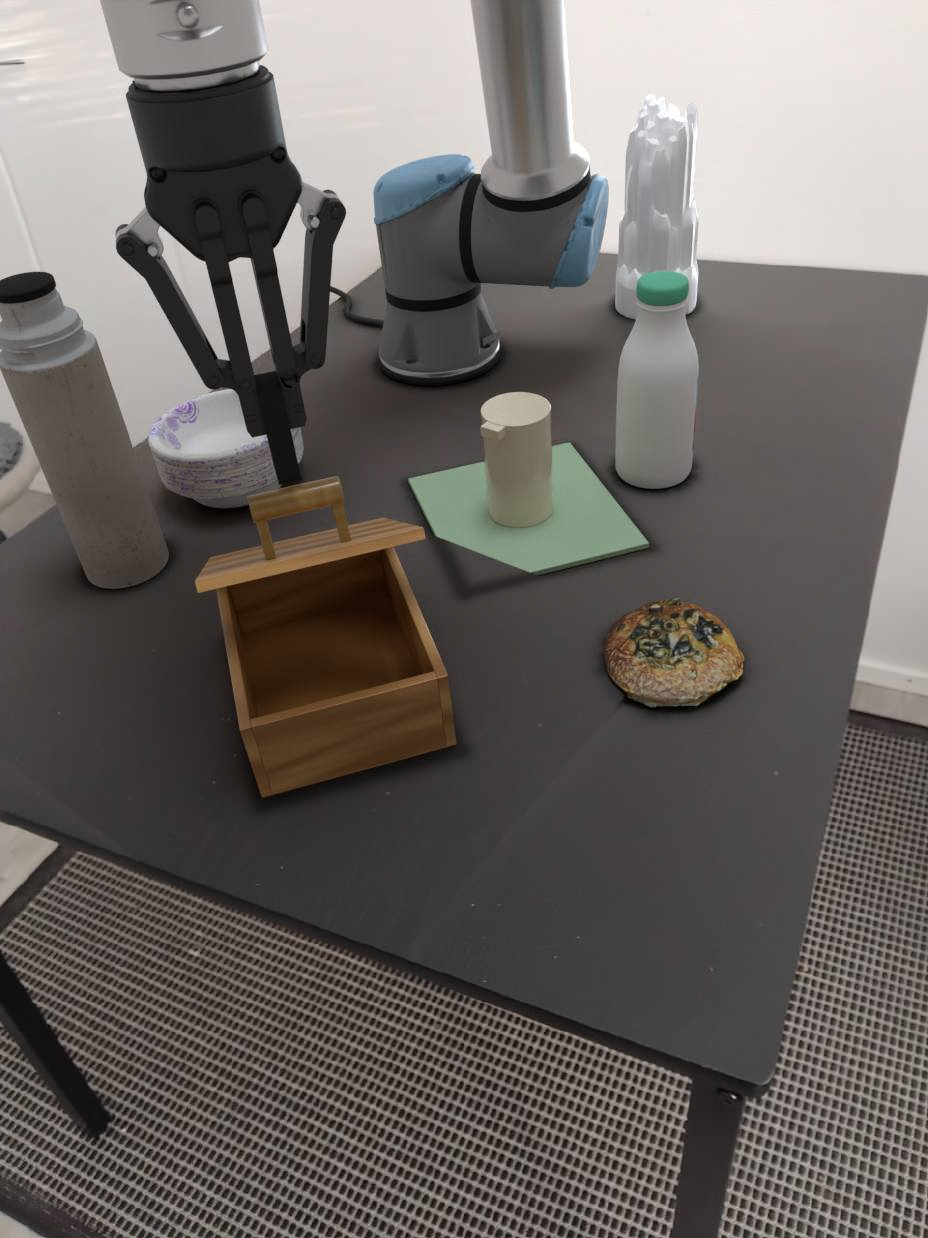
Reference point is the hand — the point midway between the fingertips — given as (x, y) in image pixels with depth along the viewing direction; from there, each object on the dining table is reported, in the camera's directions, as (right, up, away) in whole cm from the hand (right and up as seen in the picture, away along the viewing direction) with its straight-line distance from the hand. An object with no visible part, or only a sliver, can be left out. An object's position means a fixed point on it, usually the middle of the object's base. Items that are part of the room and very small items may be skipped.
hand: (287, 472), depth 65 cm
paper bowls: (-12, +4, +40) cm, 42 cm away
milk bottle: (+31, +5, +36) cm, 48 cm away
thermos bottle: (-21, -5, +31) cm, 37 cm away
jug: (+17, +1, +31) cm, 36 cm away
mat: (+17, +1, +32) cm, 36 cm away
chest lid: (0, -5, +7) cm, 8 cm away
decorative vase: (+37, +32, +67) cm, 84 cm away
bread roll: (+28, -14, +14) cm, 34 cm away
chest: (+1, -15, +14) cm, 21 cm away
